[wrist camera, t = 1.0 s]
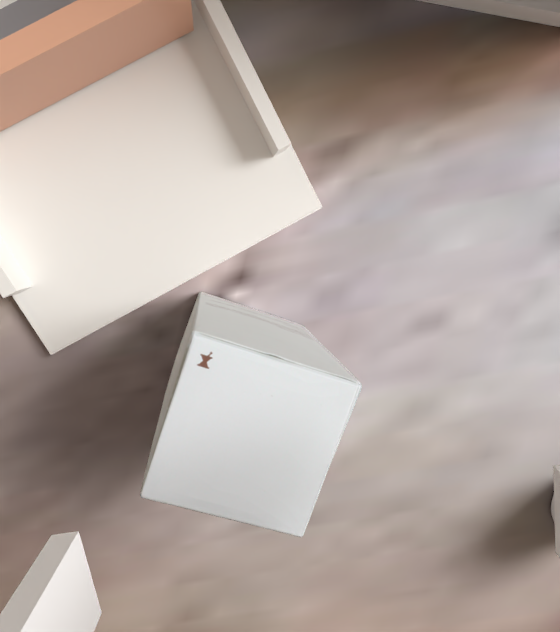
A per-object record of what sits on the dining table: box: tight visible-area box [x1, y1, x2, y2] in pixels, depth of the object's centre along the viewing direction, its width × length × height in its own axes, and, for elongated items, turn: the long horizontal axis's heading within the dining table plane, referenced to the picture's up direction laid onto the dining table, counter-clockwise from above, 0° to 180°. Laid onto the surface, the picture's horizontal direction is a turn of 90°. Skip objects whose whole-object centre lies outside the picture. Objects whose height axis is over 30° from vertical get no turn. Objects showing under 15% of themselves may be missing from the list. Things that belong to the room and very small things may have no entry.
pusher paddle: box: [0, 0, 194, 131], centre depth 25 cm, size 14×5×6 cm, turn 118°
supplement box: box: [140, 292, 362, 537], centre depth 26 cm, size 7×7×13 cm
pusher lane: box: [0, 0, 322, 355], centre depth 24 cm, size 19×25×11 cm
